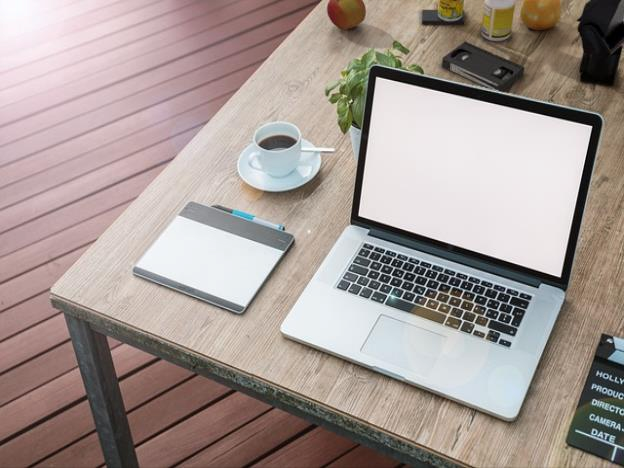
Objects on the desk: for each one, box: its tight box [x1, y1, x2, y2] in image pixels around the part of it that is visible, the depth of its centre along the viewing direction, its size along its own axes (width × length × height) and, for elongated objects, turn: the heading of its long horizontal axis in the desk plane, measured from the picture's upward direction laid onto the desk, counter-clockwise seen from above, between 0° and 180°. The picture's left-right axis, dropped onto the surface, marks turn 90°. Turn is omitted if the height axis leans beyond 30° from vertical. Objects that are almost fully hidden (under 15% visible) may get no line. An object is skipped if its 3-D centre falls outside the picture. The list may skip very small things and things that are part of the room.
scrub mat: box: [421, 9, 466, 26], centre depth 182 cm, size 9×5×1 cm, turn 84°
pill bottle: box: [480, 0, 516, 42], centre depth 173 cm, size 6×6×11 cm
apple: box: [326, 0, 367, 31], centre depth 178 cm, size 8×8×8 cm
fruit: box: [519, 0, 562, 31], centre depth 176 cm, size 8×8×8 cm
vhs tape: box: [441, 41, 525, 92], centre depth 167 cm, size 14×8×2 cm, turn 46°
